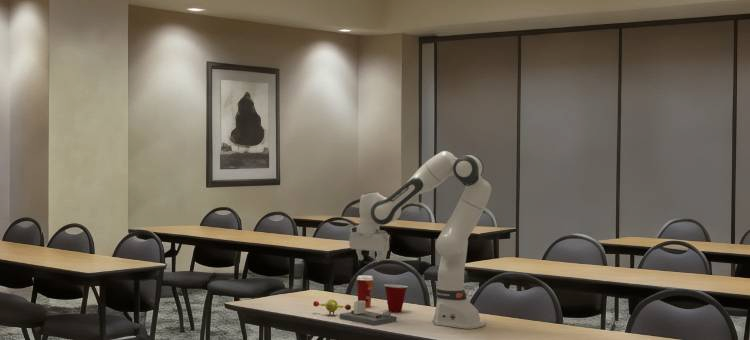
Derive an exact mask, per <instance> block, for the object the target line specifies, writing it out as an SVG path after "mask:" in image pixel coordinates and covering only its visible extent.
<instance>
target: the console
mask: <svg viewBox="0 0 750 340" xmlns="http://www.w3.org/2000/svg"><path fill="white" fill-rule="evenodd" d="M339 319H340V320H345V321H349V322H355V323H360V324H363V325H364V324H365V325H368V326H369V325H370V326H379V325H385V324H390V323H395V322H397V316H395V315H392V312H389V311H382V313H378V312H373V311H367V310H365V313H361V314H354V309H352V310H351V311H349V312H343V313H339Z"/></svg>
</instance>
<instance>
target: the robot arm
mask: <svg viewBox="0 0 750 340" xmlns="http://www.w3.org/2000/svg"><path fill="white" fill-rule="evenodd" d="M483 173H484V164H483V162H482V160H481V159H480V158H478V157H477V156H475V155H470V154H467V155H461V156H459V157H456V156H455V155H454V153H452V152H450V151H447V150H443V151H440V152H439V153H437V154H435V155H434V156H432V157H431V158H430V159H428V160H427V161H425V162H424V163H423V164H422V165H421V166H420V167H419V168H418V169H417V170H416V171H415V172H414V174H413V175H412V176H411V177H410V178H409V179H408V180H407V181H406V183H404V184H403V185H401V187H400V188H398V189H397V190H396V191H395V192H394V193H392V194H391V195H390V196H388V197H385V196H383V195H381V194H380V193H379V192H378V191H371V192H365V193H363V194H362V195H361V196H360V199H359V207H358V209H359V219H358V220H359V221H358V223H359V224H357V225H355V226H352V227H350V228H349V232H350V234H349V242H348V243H349V245H348V246H349V248H350V249H351V250H356V251H355V252H356V254H357V257H358V258H357V259H358V261H363V260H364V255H363V254H362V251H367V252H368V251H369V252H370V251H371V252H376V254H377V255H376V257H374V262H376V263H379V262H381V256H382V255H383V253H387V252H388V251H389V250H390V241H389V233H388V231H386V230H383V229H382V230H381V229H380V226H385V225H388V224H389V223H392V222H395V221H397V220H398V219H400V217H401V215H402V207H403V206H404V205H405V204H407V203H408V202H409V201H410V200H411V199H413V198H415V197H416V196H418V195H421V194H424V193H429V192H430V191H432V190H434V189H435V188H437V187H438V186H440V185H441V184H442V183H444V181H445V180H447V179H448V178H450V177H452V176H454V177H455V178H456V179H457V180H458V181H460V183H461V184H462V185H463V186H465V188H464V191H463V192H462V195H461V196H460V198H459V200H458V202H457V204H456V206H455V208H454V210H453V211H452V214H451V216H450V217H449V218H448V220H447V222H446V223H445V225H444V227H443V229H442V230H441V232H440V234H439V235H438V237H437V239H436V241H435V249H436V253H438V254H439V256H440V260H439V266H438V270H437V288H436V291H435V293H436V295H435V297H436V304H435V305H436V306H435V310H434V311H435V312H434V315H433V319H432V322H433V323H434V326H435V325H436V326H443V327H449V328H450V327H451V328H455V329H456V328H457V329H465V330H471V329H472V330H473V329H478V328H483V327H484V326H485V325H486V323H485V322H483V321H480V313H479V310H478V309H477V308H476V307H475V306H474V305H473V304H472V303H471V301H469V299H467V296H468V295H469V293H470V292H466V291H465V289H464V287H465V285H464V283H465V267H466V262H467V256H468V255H467V254H468V246H469V245H468V244H469V239H468V238H469V237H470V236H471V234H472V232H473V231H474V229H475V227H476V226H477V224H478V222H479V221H480V218H481V217H482V215H483V212H484V210H485V209H486V206H487V204H488V202H489V200H490V196H491V193H492V186H491V183H489V181H487V180H486V179H484V178H483V177H482V175H483Z"/></svg>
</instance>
